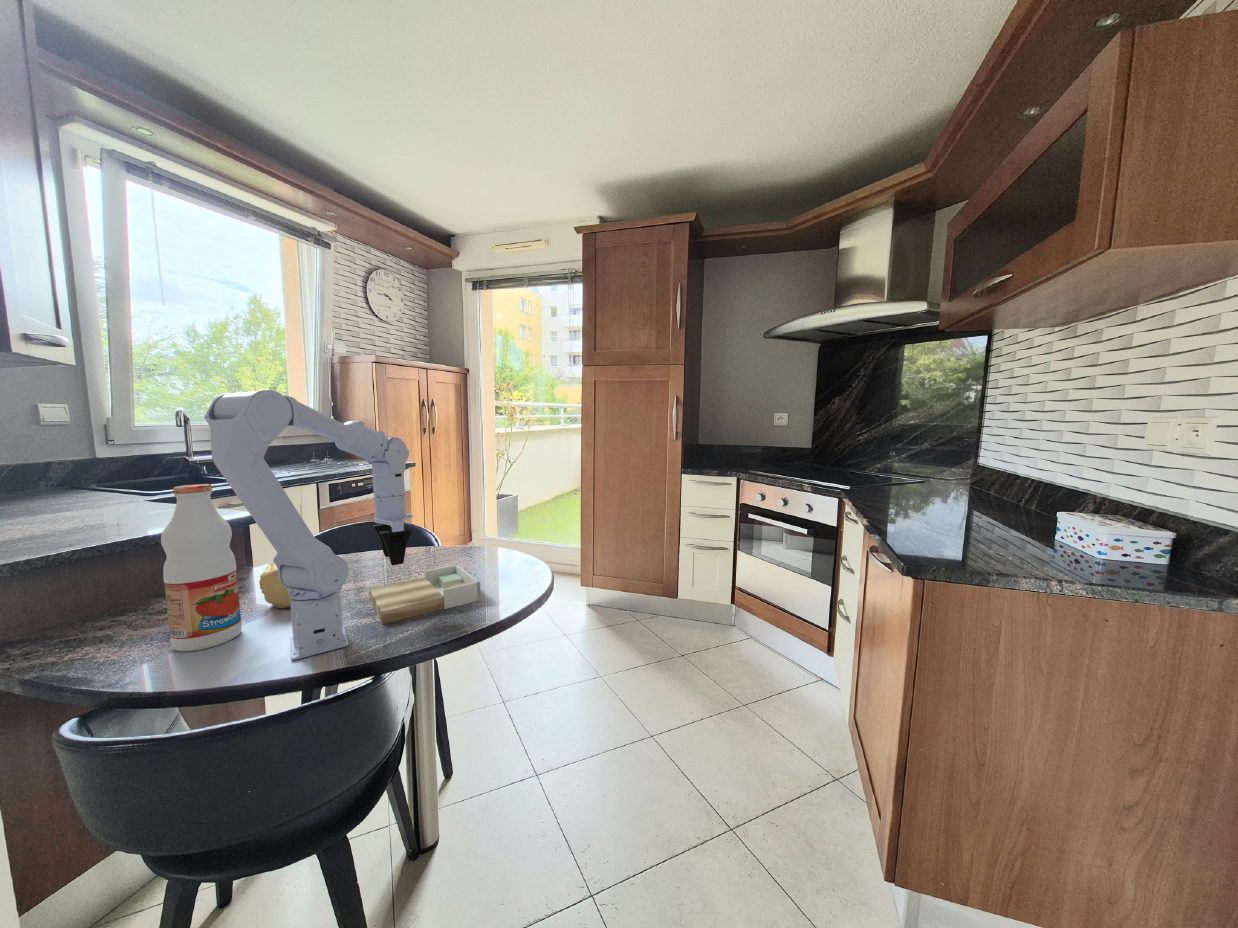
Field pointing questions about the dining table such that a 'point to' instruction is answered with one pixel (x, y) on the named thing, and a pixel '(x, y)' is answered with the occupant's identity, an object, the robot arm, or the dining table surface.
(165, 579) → the fruit juice
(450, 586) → the tile
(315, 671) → the dining table surface
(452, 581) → the tile
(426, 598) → the board
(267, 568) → the sculpture
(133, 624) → the dining table surface
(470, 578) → the tray
